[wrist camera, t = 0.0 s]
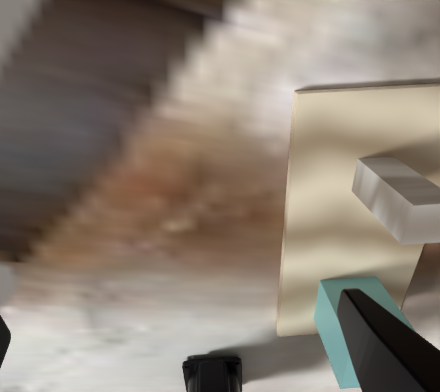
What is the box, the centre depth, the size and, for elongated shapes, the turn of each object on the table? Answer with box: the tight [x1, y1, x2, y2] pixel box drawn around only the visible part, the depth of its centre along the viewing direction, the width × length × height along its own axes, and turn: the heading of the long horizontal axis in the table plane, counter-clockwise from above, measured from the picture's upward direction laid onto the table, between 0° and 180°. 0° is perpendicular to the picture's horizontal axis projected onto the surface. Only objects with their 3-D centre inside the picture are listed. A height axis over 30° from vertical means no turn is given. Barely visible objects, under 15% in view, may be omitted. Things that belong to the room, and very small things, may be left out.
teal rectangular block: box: [314, 276, 415, 389], centre depth 26 cm, size 5×5×7 cm
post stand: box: [276, 83, 440, 337], centre depth 23 cm, size 24×12×8 cm, turn 2°
